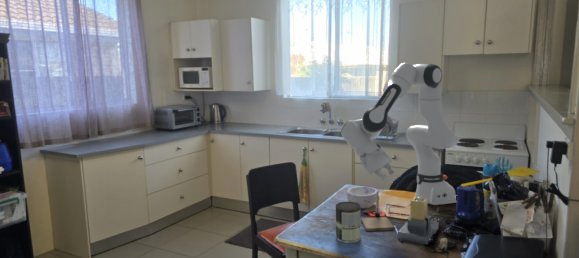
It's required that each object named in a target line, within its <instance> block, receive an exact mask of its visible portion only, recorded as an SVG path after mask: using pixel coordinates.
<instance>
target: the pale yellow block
mask: <svg viewBox="0 0 579 258" xmlns="http://www.w3.org/2000/svg"><path fill="white" fill-rule="evenodd" d="M427 200H428V199H426V198H422V201H416V197H415V196H413V197H412V199H410V217H411V218H410V217H409V218H410V219H414V220H420V221H424V220H425V219H426V218H427V215H428V203H427Z"/></svg>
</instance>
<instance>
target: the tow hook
mask: <svg viewBox="0 0 579 258" xmlns="http://www.w3.org/2000/svg"><path fill="white" fill-rule="evenodd" d="M379 201H380V195H379V191H378V190H377V196H376V202H375V210H370V211H368V212H367V215H368V216H369V218H376V217H386V216H387V213H386V212H385V211H383V210H380V202H379ZM373 212H375V213H373ZM380 212H381V213H383V214H381V213H380ZM371 213H372V214H371ZM385 215H386V216H385Z"/></svg>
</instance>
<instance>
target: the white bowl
mask: <svg viewBox="0 0 579 258" xmlns="http://www.w3.org/2000/svg"><path fill="white" fill-rule="evenodd" d="M346 191H347V192H346V193H347V195H346V196H347V197H346V198H347V202H355V203H358V204H360V206H361V208H360V209H369V208H372V207H373V205H374V204H376V196H377V191H378V189H376V188H374V187H371V186H370V187H369V186H354V187H351V188H349V189H348V190H346Z"/></svg>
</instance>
